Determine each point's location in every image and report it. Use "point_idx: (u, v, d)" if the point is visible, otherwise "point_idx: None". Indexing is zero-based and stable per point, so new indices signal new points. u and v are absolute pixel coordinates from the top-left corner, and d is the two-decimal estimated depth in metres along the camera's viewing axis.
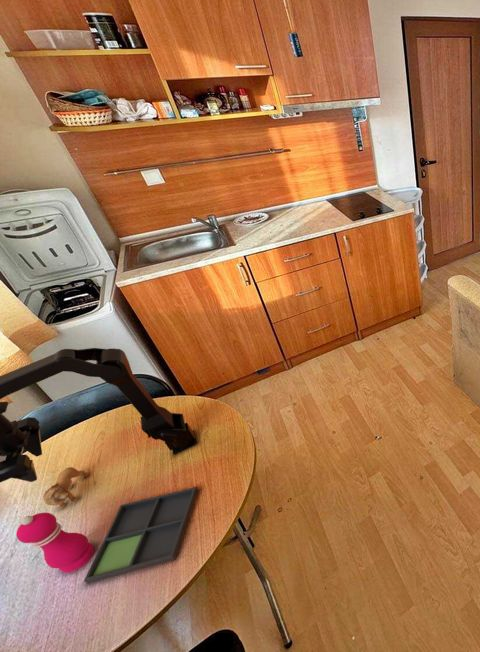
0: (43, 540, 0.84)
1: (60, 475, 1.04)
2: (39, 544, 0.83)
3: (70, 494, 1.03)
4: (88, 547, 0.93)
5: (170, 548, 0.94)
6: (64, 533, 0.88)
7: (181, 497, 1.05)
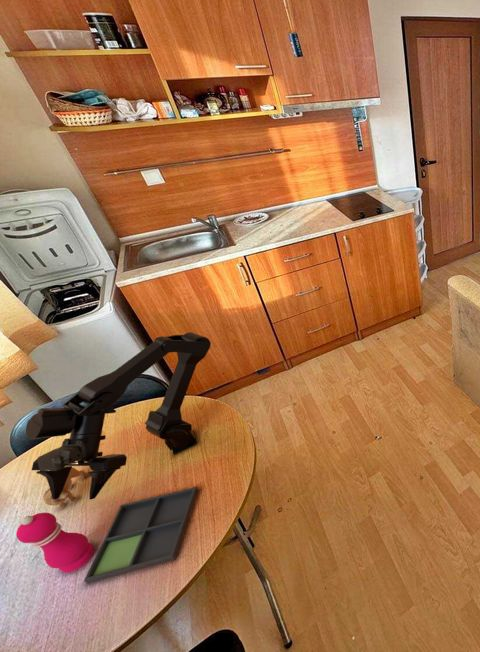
0: (43, 540, 0.84)
1: None
2: (39, 544, 0.83)
3: (70, 494, 1.03)
4: (88, 547, 0.93)
5: (170, 548, 0.94)
6: (64, 533, 0.88)
7: (181, 497, 1.05)
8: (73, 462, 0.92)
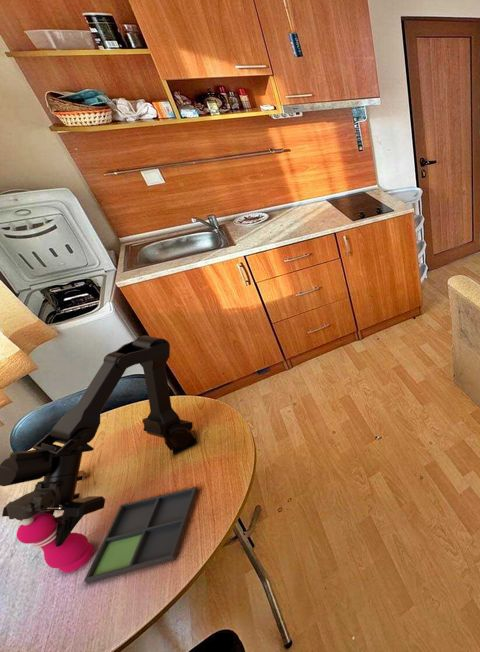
0: (43, 540, 0.84)
1: None
2: (39, 544, 0.83)
3: None
4: (88, 547, 0.93)
5: (170, 548, 0.94)
6: None
7: (181, 497, 1.05)
8: None
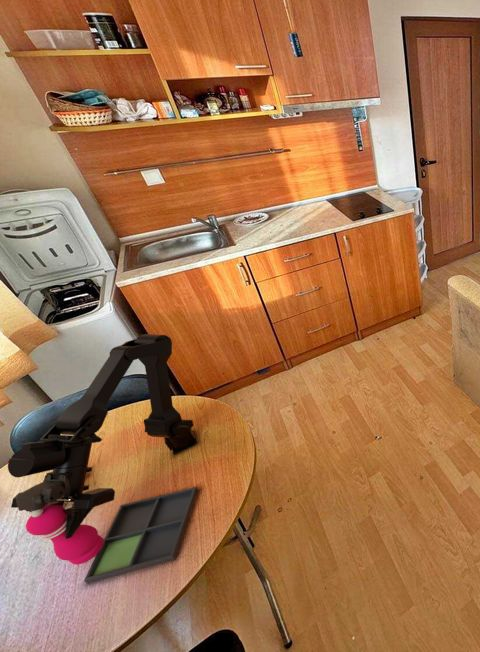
0: (53, 532, 0.82)
1: None
2: (49, 536, 0.82)
3: None
4: (98, 539, 0.91)
5: (170, 548, 0.94)
6: None
7: (181, 497, 1.05)
8: None
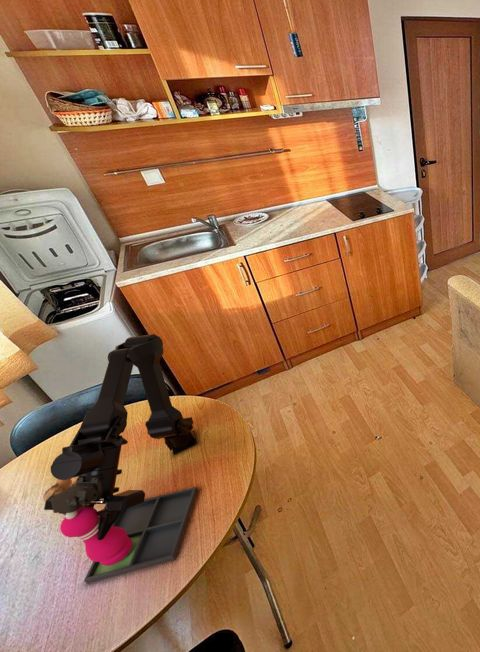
0: (86, 534, 0.83)
1: None
2: (82, 538, 0.83)
3: None
4: (127, 541, 0.93)
5: (170, 548, 0.94)
6: None
7: (181, 497, 1.05)
8: None
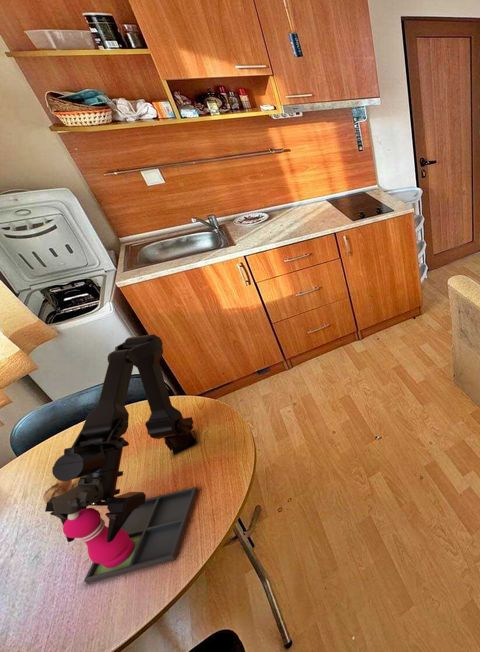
0: (88, 535, 0.84)
1: None
2: (85, 539, 0.84)
3: None
4: (129, 542, 0.93)
5: (170, 548, 0.94)
6: (107, 528, 0.88)
7: (181, 497, 1.05)
8: None
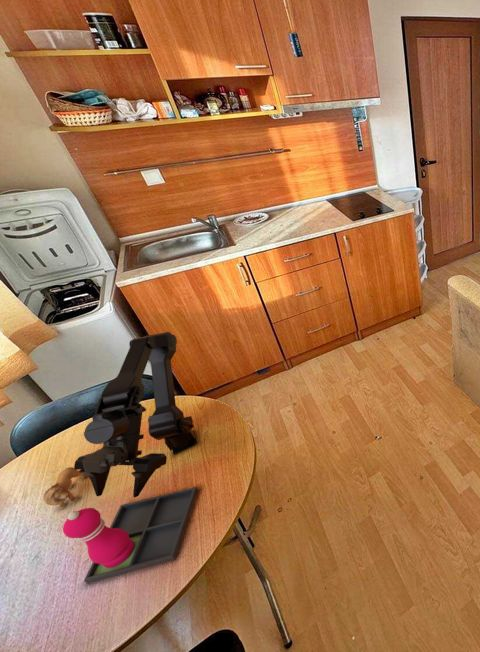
0: (88, 535, 0.84)
1: (60, 475, 1.04)
2: (85, 539, 0.84)
3: (70, 494, 1.03)
4: (129, 542, 0.93)
5: (170, 548, 0.94)
6: (107, 528, 0.88)
7: (181, 497, 1.05)
8: None
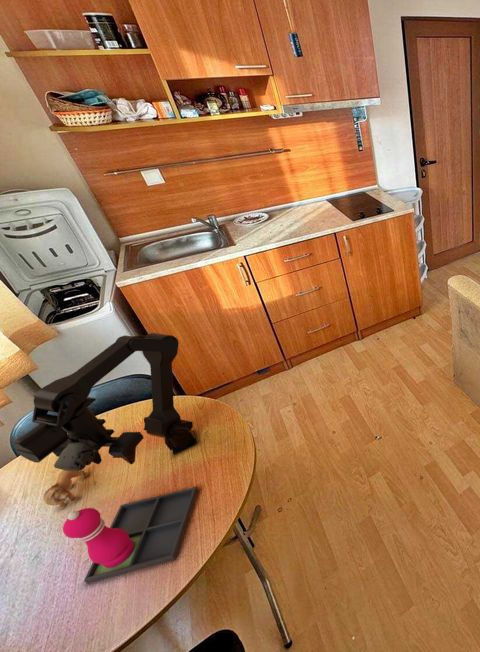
0: (88, 535, 0.84)
1: (60, 475, 1.04)
2: (85, 539, 0.84)
3: (70, 494, 1.03)
4: (129, 542, 0.93)
5: (170, 548, 0.94)
6: (107, 528, 0.88)
7: (181, 497, 1.05)
8: None
